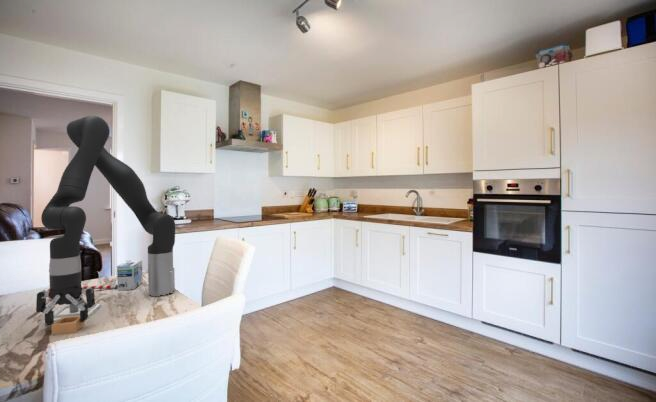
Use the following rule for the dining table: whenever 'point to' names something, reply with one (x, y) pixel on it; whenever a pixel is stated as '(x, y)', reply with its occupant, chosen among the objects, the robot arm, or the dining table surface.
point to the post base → (73, 311)
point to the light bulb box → (129, 274)
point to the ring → (67, 325)
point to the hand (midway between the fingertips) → (66, 322)
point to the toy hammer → (94, 288)
